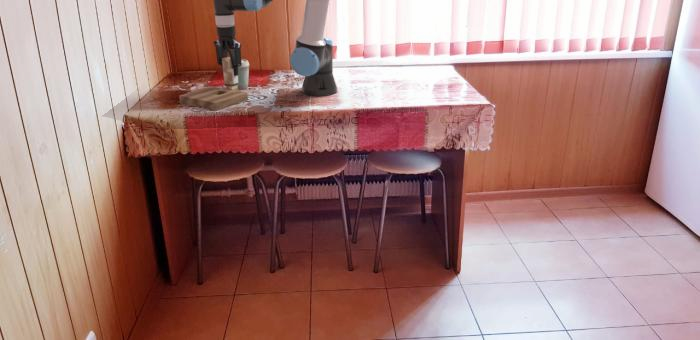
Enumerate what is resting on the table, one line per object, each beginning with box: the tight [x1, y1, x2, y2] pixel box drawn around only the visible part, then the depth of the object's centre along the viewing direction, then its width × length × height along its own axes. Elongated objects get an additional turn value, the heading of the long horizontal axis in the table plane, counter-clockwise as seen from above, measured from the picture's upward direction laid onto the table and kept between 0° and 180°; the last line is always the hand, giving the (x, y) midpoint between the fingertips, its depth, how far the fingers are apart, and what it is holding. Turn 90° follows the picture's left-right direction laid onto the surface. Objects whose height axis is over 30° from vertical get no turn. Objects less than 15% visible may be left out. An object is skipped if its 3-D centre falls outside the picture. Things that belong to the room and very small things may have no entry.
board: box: [178, 86, 249, 112], centre depth 208 cm, size 20×18×3 cm
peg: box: [222, 56, 239, 91], centre depth 217 cm, size 4×4×14 cm
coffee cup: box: [238, 59, 250, 91], centre depth 227 cm, size 9×8×12 cm
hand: (231, 82), depth 218 cm, fingers closed on peg, 4 cm apart
